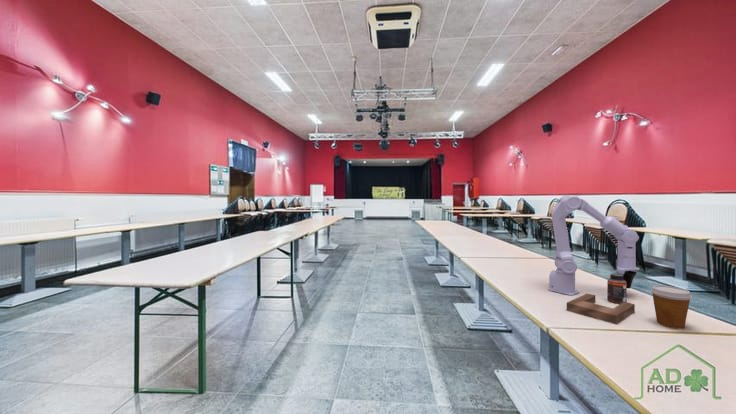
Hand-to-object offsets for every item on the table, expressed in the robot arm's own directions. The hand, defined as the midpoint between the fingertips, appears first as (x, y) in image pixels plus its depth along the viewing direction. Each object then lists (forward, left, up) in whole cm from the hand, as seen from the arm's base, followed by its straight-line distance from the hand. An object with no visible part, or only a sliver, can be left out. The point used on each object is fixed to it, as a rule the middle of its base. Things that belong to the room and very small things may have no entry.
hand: (626, 287), depth 121 cm
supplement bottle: (0, -11, -4) cm, 12 cm away
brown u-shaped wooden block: (0, -28, -4) cm, 28 cm away
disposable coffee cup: (+17, -23, -4) cm, 29 cm away
